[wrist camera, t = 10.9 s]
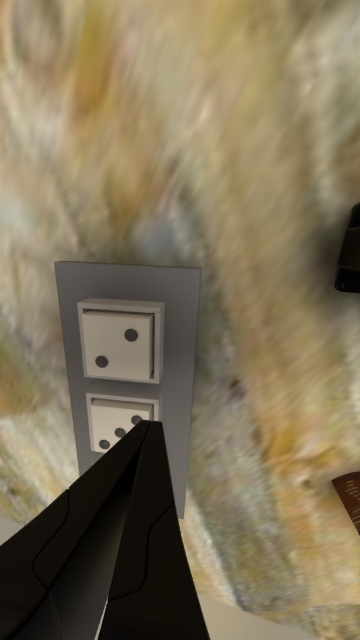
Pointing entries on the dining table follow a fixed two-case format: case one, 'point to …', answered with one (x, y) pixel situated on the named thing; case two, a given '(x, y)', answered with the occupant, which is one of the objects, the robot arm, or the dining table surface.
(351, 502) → the food container
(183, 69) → the dining table surface
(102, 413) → the tile three dots
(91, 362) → the tile two dots
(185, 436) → the button panel
